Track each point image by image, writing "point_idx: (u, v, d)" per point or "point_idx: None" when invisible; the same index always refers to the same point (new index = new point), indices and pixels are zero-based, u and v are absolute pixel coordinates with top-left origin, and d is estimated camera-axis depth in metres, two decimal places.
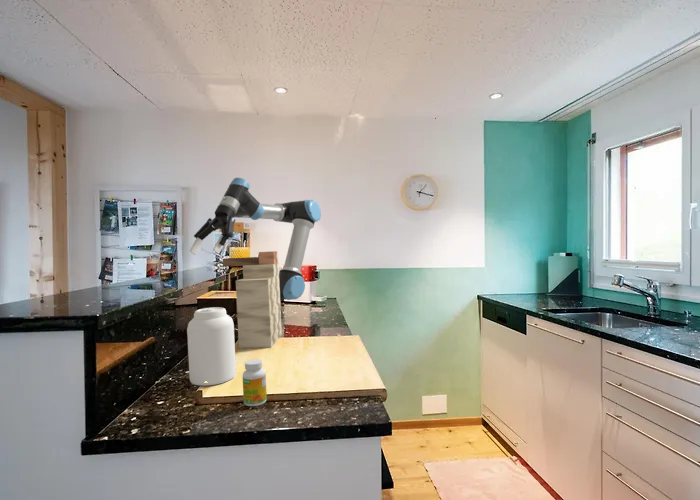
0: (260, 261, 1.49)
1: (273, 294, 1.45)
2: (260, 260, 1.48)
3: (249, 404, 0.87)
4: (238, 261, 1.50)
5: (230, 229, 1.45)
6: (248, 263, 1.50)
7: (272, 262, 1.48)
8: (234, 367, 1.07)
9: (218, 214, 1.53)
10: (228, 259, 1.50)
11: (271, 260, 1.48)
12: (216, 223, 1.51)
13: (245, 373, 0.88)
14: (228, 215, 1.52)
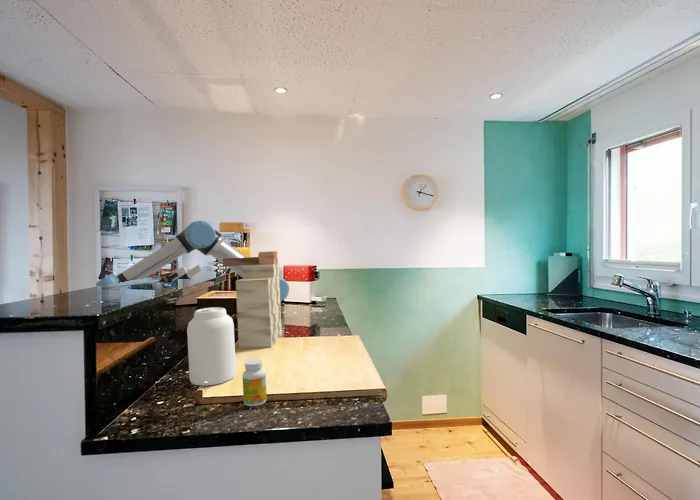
0: (260, 261, 1.49)
1: (273, 294, 1.45)
2: (260, 260, 1.48)
3: (249, 404, 0.87)
4: (238, 261, 1.50)
5: None
6: (248, 263, 1.50)
7: (272, 262, 1.48)
8: (234, 367, 1.07)
9: None
10: (228, 259, 1.50)
11: (271, 260, 1.48)
12: None
13: (245, 373, 0.88)
14: None
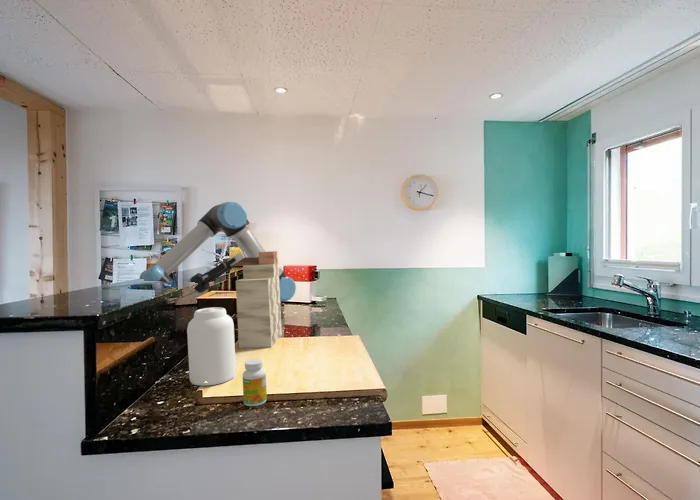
0: (260, 261, 1.49)
1: (273, 294, 1.45)
2: (260, 260, 1.48)
3: (249, 404, 0.87)
4: None
5: (219, 269, 1.47)
6: (248, 263, 1.50)
7: (272, 262, 1.48)
8: (234, 367, 1.07)
9: (207, 284, 1.53)
10: (228, 259, 1.50)
11: (271, 260, 1.48)
12: None
13: (245, 373, 0.88)
14: (200, 282, 1.49)
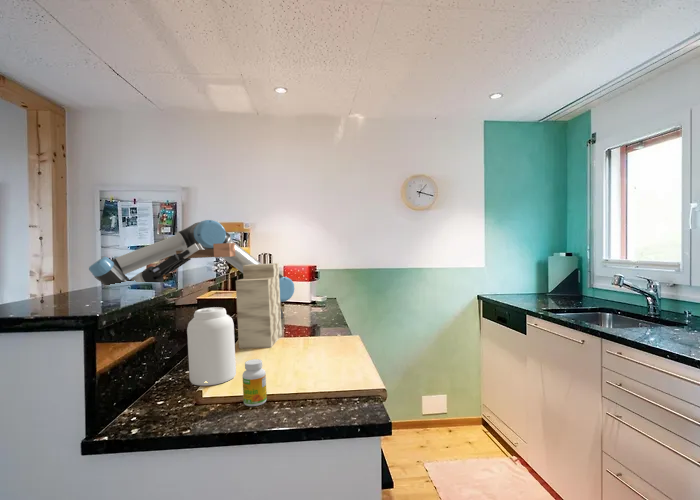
0: (215, 253, 1.40)
1: (273, 294, 1.45)
2: (215, 252, 1.40)
3: (249, 404, 0.87)
4: None
5: (171, 262, 1.38)
6: (203, 255, 1.42)
7: (228, 254, 1.40)
8: (234, 367, 1.07)
9: (160, 277, 1.45)
10: None
11: (227, 252, 1.40)
12: (167, 270, 1.44)
13: (245, 373, 0.88)
14: (152, 276, 1.40)
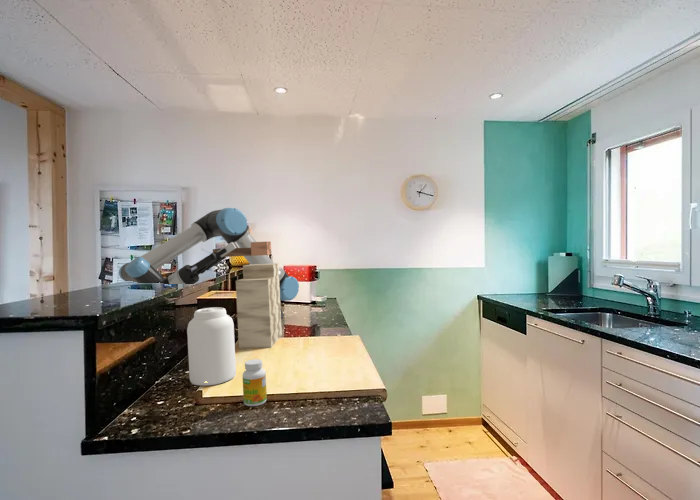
0: (252, 252, 1.39)
1: (273, 294, 1.45)
2: (252, 251, 1.39)
3: (249, 404, 0.87)
4: (229, 252, 1.41)
5: (208, 260, 1.38)
6: (240, 254, 1.41)
7: (265, 253, 1.39)
8: (234, 367, 1.07)
9: (196, 276, 1.44)
10: (218, 250, 1.41)
11: (264, 251, 1.39)
12: None
13: (245, 373, 0.88)
14: (189, 274, 1.40)
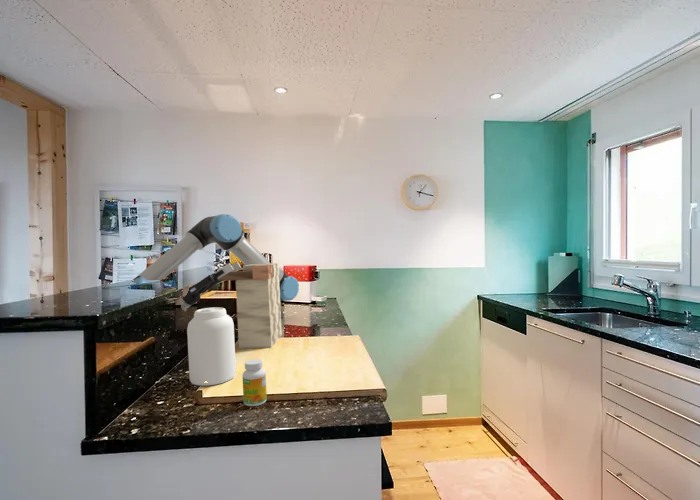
0: (254, 276, 1.40)
1: (273, 294, 1.45)
2: (254, 275, 1.40)
3: (249, 404, 0.87)
4: (230, 275, 1.41)
5: (206, 282, 1.36)
6: (241, 278, 1.41)
7: (267, 277, 1.39)
8: (234, 367, 1.07)
9: (198, 295, 1.44)
10: None
11: (265, 275, 1.39)
12: None
13: (245, 373, 0.88)
14: (190, 294, 1.40)
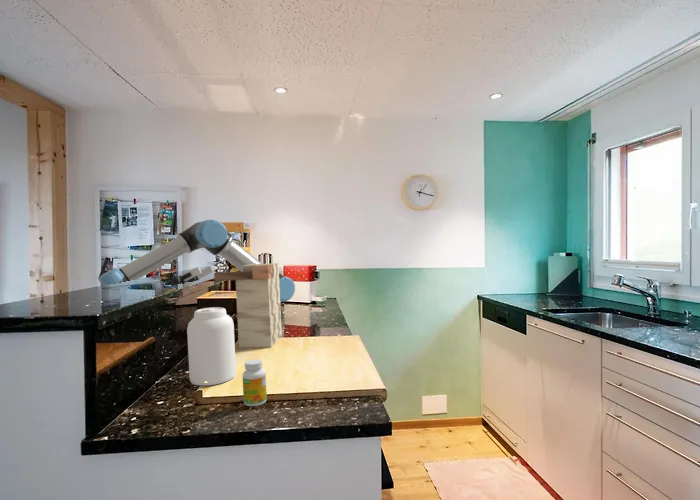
0: (254, 276, 1.40)
1: (273, 294, 1.45)
2: (254, 275, 1.40)
3: (249, 404, 0.87)
4: (230, 275, 1.41)
5: (172, 284, 1.36)
6: (241, 278, 1.41)
7: (267, 277, 1.39)
8: (234, 367, 1.07)
9: None
10: (220, 273, 1.42)
11: (265, 275, 1.39)
12: None
13: (245, 373, 0.88)
14: None
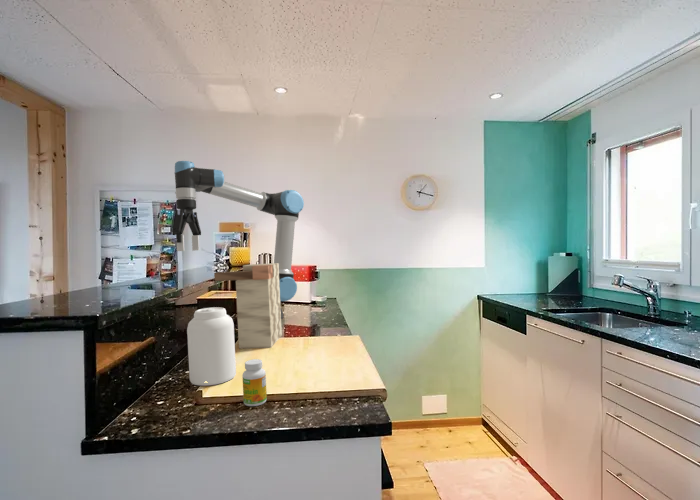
0: (254, 276, 1.40)
1: (273, 294, 1.45)
2: (254, 275, 1.40)
3: (249, 404, 0.87)
4: (230, 275, 1.41)
5: (175, 225, 1.47)
6: (241, 278, 1.41)
7: (267, 277, 1.39)
8: (234, 367, 1.07)
9: None
10: (220, 273, 1.42)
11: (265, 275, 1.39)
12: None
13: (245, 373, 0.88)
14: (180, 208, 1.52)
